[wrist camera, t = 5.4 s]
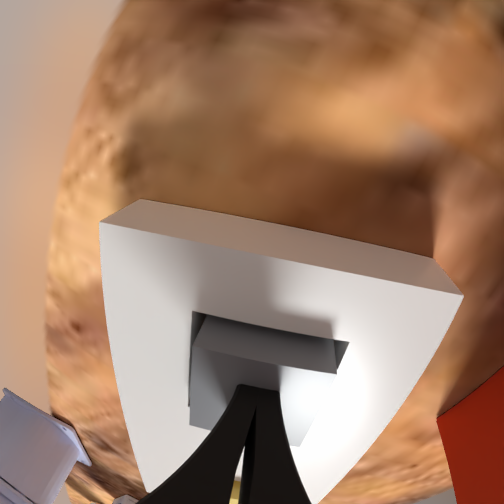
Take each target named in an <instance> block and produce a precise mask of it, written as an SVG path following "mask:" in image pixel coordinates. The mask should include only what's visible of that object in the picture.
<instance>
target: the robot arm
mask: <svg viewBox="0 0 504 504" xmlns="http://www.w3.org/2000/svg"><path fill="white" fill-rule="evenodd" d="M3 392H4V394H5V396H4V397H3V398H2V400H1V401H0V504H53V502H54V500H55V498H56V497H57V495H58V493H59V491H60V489H61V487H62V486H63V484H64V482H65V480H66V478H67V477H68V475H69V473H70V471H71V470H72V468H73V466H74V464H75V463H76V461H77V460H78V461H80V462H82V463H84V464H86V465H88V466H91V465H92V463H91V461H90V459H89V457H88V455H87V454H86V452H85V450H84V448H83V446H82V444H81V442H80V440H79V438H78V436H77V434H76V432H75V430H74V429H73V428H72V427H71V426H69V425H68V424H66V423H64V422H62V421H60V420H58V419H56V418H54V417H52V416H51V415H49V414H47V413H45V412H43V411H42V410H40V409H38V408H36V407H35V406H33V405H31V404H30V403H28V402H27V401H25V400H23V399H22V398H20V397H19V396H17V395H15V394H14V393H12V392H11V391H9V390H8V389H6V388H4V389H3ZM243 449H244V455H243V464H242V474H241V483H240V492H239V500H238V504H312V503H311V501H310V499H309V497H308V495H307V493H306V491H305V488H304V486H303V484H302V481H301V479H300V476H299V473H298V471H297V468H296V465H295V462H294V459H293V456H292V452H291V449H290V445H289V442H288V438H287V434H286V430H285V425H284V420H283V415H282V408H281V399H280V393H279V392H278V391H276V390H270V389H265V388H259V387H254V386H249V385H245V384H239V385H237V387H236V390H235V392H234V394H233V396H232V399H231V400H230V402H229V404H228V406H227V408H226V409H225V411H224V413H223V414H222V416H221V417H220V419H219V420H218V422H217V423H216V425H215V426H214V428H213V429H212V430H211V432H210V433H209V434H208V436H207V437H206V438H205V439H204V441H203V442H202V443H201V444H200V445H199V447H198V448H197V449H196V450H195V451H194V453H193V454H192V455H191V456H190V457H189V458H188V459H187V460H186V461H185V462H184V463H183V464H182V465H181V466H180V467H179V468H178V469H177V470H176V471H175V472H174V473H173V474H172V475H171V476H170V477H168V478H167V479H166V480H165V481H164V482H163V483H162V484H161V485H159V486H158V487H157V488H156V489H154V490H153V491H152V492H151V493H149V494H148V495H146V496H145V497H144V498H142V499H141V500H140V501H138V502H137V503H135V504H229V503H230V498H231V493H232V489H233V484H234V479H235V474H236V470H237V467H238V464H239V461H240V458H241V455H242V452H243Z"/></svg>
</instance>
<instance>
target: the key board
mask: <svg viewBox="0 0 504 504" xmlns="http://www.w3.org/2000/svg"><path fill="white" fill-rule="evenodd" d="M99 236H100V257H101V272H102V284H103V295H104V304H105V313H106V321H107V328H108V335H109V342H110V348H111V355H112V360H113V366H114V371H115V377H116V382H117V387H118V391H119V396H120V401H121V405H122V409H123V413H124V418H125V422H126V425H127V429H128V433H129V437H130V440H131V444H132V448H133V451H134V454H135V458H136V461H137V464H138V467H139V470H140V474H141V477H142V480H143V483H144V485H145V488H146V491H147V492H149V493H151V492H152V491H153V490H154V489H156V488H157V487H158V486H159V485H161V484H162V483H163V482H164V481H165V480H166V479H167V478H168V477H170V476H171V475H172V474H173V473H174V472H175V471H176V470H177V469H178V468H179V467H180V466H181V465H182V464H183V463H184V462H185V461H186V460H187V459H188V458H189V457H190V456H191V455H192V454H193V453H194V451H195V450H196V449H197V448H198V447H199V445H200V444H201V443H202V442H203V441H204V439H205V438H206V437H207V436H208V434H209V433H210V432H211V431H210V430H206V429H202V428H198V427H195V426H191V425H189V418H190V388H191V366H192V347H193V344H194V342H195V340H196V337H197V335H198V333H199V331H200V329H201V327H202V324H203V322H204V320H205V318H206V316H207V314H209V315H213V316H218V317H222V318H227V319H231V320H236V321H240V322H245V323H250V324H254V325H259V326H264V327H269V328H274V329H279V330H284V331H289V332H295V333H300V334H306V335H311V336H317V337H323V338H329V339H334V348H335V358H336V368H337V376H336V378H335V380H334V382H333V384H332V386H331V388H330V390H329V392H328V394H327V396H326V398H325V400H324V402H323V404H322V406H321V408H320V410H319V412H318V414H317V416H316V418H315V420H314V422H313V424H312V425H311V427H310V429H309V431H308V433H307V435H306V436H305V438H304V440H303V442H302V444H301V445H300V447H296V446H290V449H291V452H292V456H293V459H294V462H295V465H296V468H297V471H298V473H299V476H300V479H301V481H302V484H303V486H304V488H305V491H306V493H307V495H308V497H309V499H310V501H311V503H312V504H317V503H318V502H319V501H320V500H321V499H323V498H324V497H325V496H326V495H327V494H328V493H329V492H330V491H331V490H332V489H333V488H334V486H335V485H336V484H337V483H338V482H339V481H340V480H341V479H342V478H343V477H344V476H345V475H346V474H347V473H348V472H349V470H350V469H351V468H352V467H353V466H354V465H355V464H356V463H357V461H358V460H359V459H360V458H361V457H362V456H363V454H364V453H365V452H366V451H367V450H368V449H369V447H370V446H371V445H372V444H373V442H374V441H375V440H376V439H377V437H378V436H379V435H380V434H381V432H382V431H383V430H384V428H385V427H386V426H387V424H388V423H389V422H390V420H391V419H392V418H393V416H394V415H395V414H396V412H397V411H398V409H399V408H400V407H401V405H402V404H403V402H404V401H405V399H406V398H407V396H408V395H409V394H410V392H411V391H412V389H413V387H414V386H415V384H416V383H417V381H418V380H419V378H420V377H421V375H422V373H423V372H424V370H425V369H426V367H427V365H428V364H429V362H430V360H431V359H432V357H433V355H434V353H435V352H436V350H437V348H438V346H439V345H440V343H441V341H442V339H443V337H444V335H445V334H446V332H447V330H448V328H449V326H450V324H451V322H452V320H453V318H454V316H455V314H456V312H457V310H458V308H459V306H460V304H461V302H462V299H463V297H464V295H463V294H462V293H461V291H460V290H459V289H458V288H457V286H456V285H455V284H454V283H453V281H452V280H451V279H450V278H449V276H448V275H447V274H446V273H445V271H444V270H443V269H442V268H441V267H440V266H439V264H438V263H437V262H436V261H435V260H434V258H429V257H425V256H421V255H417V254H413V253H409V252H404V251H400V250H396V249H391V248H387V247H383V246H378V245H374V244H370V243H365V242H361V241H356V240H352V239H347V238H342V237H338V236H333V235H328V234H324V233H319V232H314V231H310V230H305V229H300V228H295V227H290V226H285V225H280V224H275V223H270V222H265V221H260V220H255V219H250V218H245V217H239V216H234V215H229V214H224V213H218V212H213V211H207V210H202V209H196V208H191V207H185V206H179V205H174V204H168V203H162V202H156V201H150V200H144V199H139V200H137V201H135V202H133V203H132V204H130V205H128V206H126V207H124V208H123V209H121V210H119V211H117V212H116V213H114V214H112V215H110V216H108V217H107V218H105V219H103V220H102V221H100V222H99ZM243 455H244V449H243V452H242V455H241V458H240V461H239V464H238V467H237V470H236V474H235V479H234V480H235V481H240V482H241V474H242V464H243Z"/></svg>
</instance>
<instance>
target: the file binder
mask: <svg viewBox="0 0 504 504" xmlns="http://www.w3.org/2000/svg"><path fill="white" fill-rule="evenodd" d="M436 422H437V425H438V428H439V432H440V435H441V439H442V442H443V446H444V450H445V453H446V457H447V461H448V465H449V469H450V473H451V478H452V482H453V487H454V491H455V496H456V501H457V504H504V366H503V367H502V368H501V369H500V370H499V371H497V372H496V373H495V374H494V375H493V376H492V377H490V378H489V379H488V380H487V381H486V382H485V383H483V384H482V385H481V386H480V387H479V388H477V389H476V390H475V391H474V392H472V393H471V394H470V395H468V396H467V397H466V398H465V399H463V400H462V401H461V402H459V403H458V404H457V405H455V406H454V407H452V408H451V409H450V410H448V411H447V412H445V413H444V414H443V415H441V416H440V417H438V418H437V421H436Z"/></svg>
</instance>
